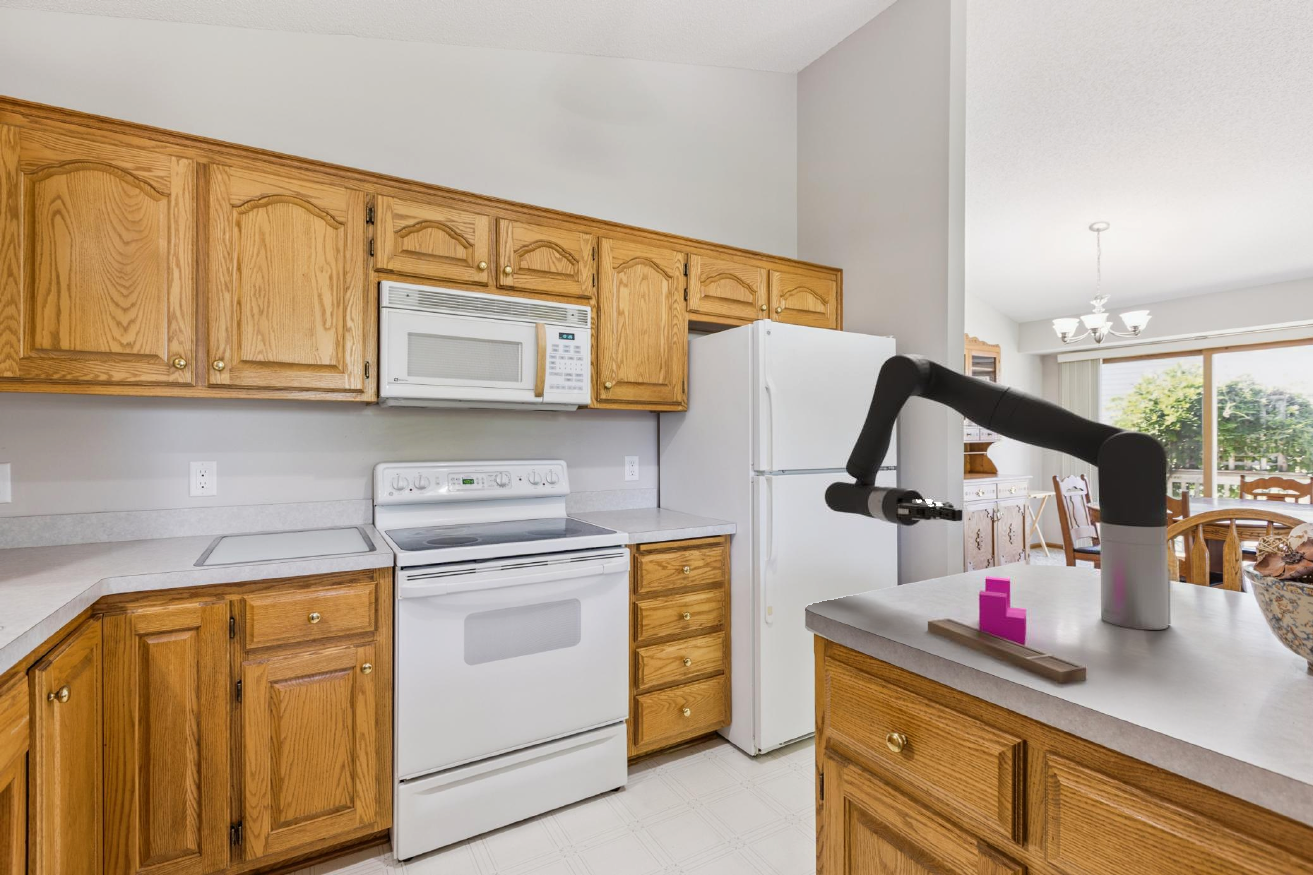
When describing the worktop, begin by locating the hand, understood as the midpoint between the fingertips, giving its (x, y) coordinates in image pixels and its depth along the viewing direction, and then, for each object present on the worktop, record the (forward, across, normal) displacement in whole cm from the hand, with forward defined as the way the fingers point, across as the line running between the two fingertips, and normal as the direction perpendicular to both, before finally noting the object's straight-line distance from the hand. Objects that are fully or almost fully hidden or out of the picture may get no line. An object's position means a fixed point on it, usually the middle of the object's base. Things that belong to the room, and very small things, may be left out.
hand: (959, 515), depth 114 cm
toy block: (+10, 0, +18) cm, 21 cm away
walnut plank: (+18, -10, +18) cm, 28 cm away
